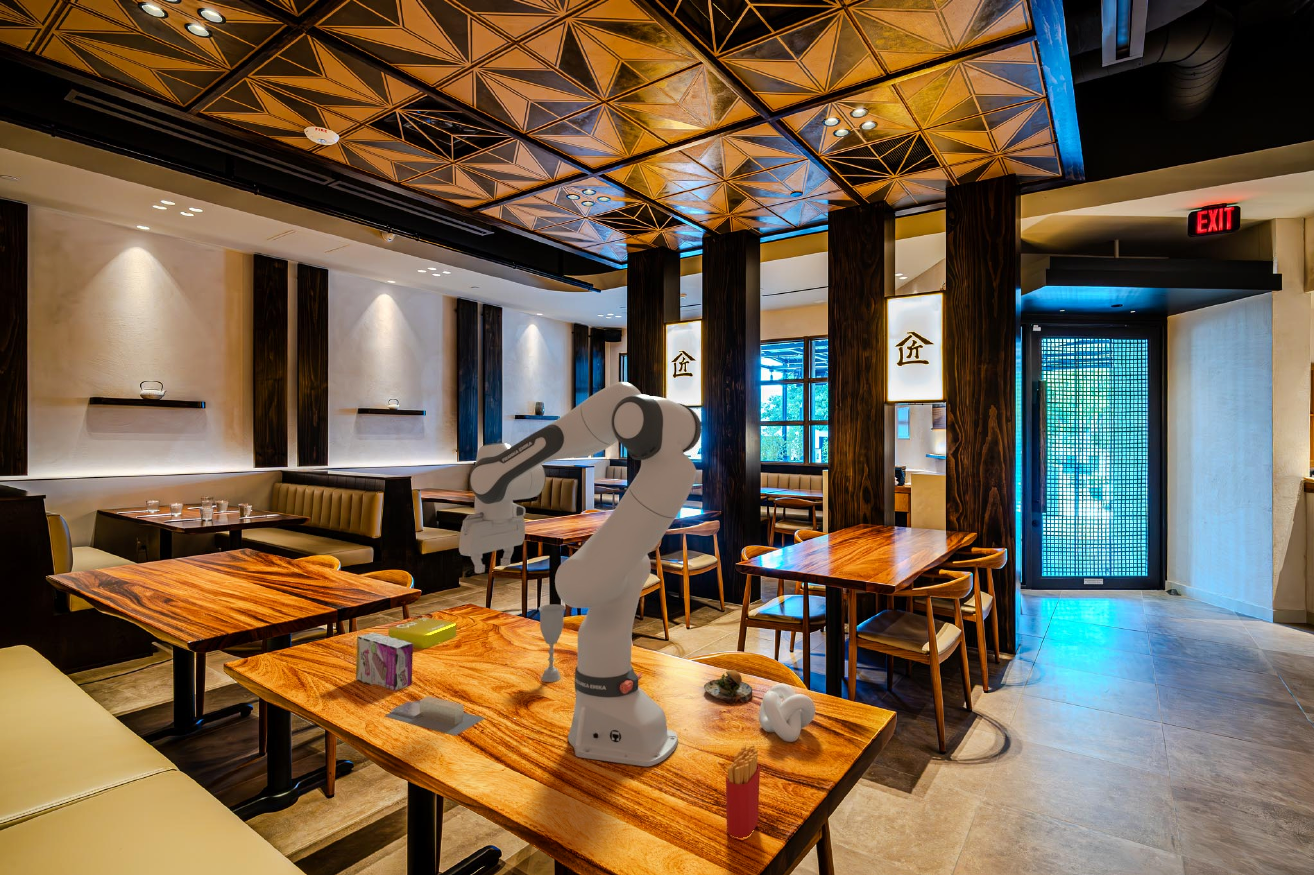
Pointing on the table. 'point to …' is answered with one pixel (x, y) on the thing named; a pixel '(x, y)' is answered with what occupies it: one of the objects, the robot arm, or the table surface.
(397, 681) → the candy bar box
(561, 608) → the chalice
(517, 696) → the table surface
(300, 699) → the table surface
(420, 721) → the plate
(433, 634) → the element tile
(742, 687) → the burger
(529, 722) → the table surface
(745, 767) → the french fries
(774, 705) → the white knot sculpture
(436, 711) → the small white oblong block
